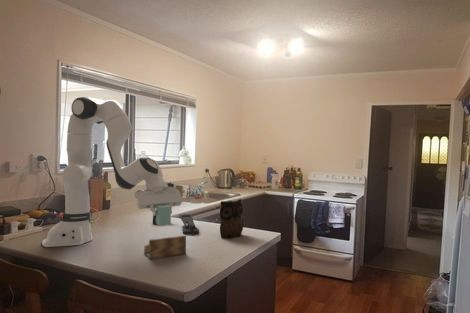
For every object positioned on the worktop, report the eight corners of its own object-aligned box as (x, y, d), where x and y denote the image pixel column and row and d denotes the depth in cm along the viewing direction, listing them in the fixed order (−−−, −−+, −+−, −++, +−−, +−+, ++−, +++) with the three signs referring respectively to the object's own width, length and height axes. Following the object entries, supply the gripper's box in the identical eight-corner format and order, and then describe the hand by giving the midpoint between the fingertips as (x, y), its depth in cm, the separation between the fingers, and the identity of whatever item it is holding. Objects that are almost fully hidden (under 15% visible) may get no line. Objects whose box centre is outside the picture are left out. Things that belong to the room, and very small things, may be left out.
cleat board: (150, 259, 144) (150, 240, 144) (144, 253, 152) (144, 235, 152) (185, 254, 152) (186, 236, 152) (178, 248, 160) (178, 231, 160)
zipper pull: (192, 213, 211) (200, 222, 187) (192, 224, 211) (200, 234, 187) (177, 214, 208) (183, 223, 184) (177, 225, 208) (183, 235, 184)
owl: (244, 234, 188) (244, 198, 187) (238, 240, 176) (239, 201, 175) (222, 232, 191) (222, 197, 191) (215, 238, 179) (215, 200, 178)
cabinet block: (159, 225, 148) (159, 207, 147) (155, 223, 152) (155, 205, 152) (170, 224, 150) (170, 206, 150) (166, 222, 155) (166, 204, 155)
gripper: (135, 186, 152) (140, 211, 144) (178, 184, 162) (186, 207, 154) (132, 195, 156) (138, 220, 148) (175, 192, 166) (182, 215, 158)
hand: (163, 213), depth 151 cm, fingers closed on cabinet block, 5 cm apart
